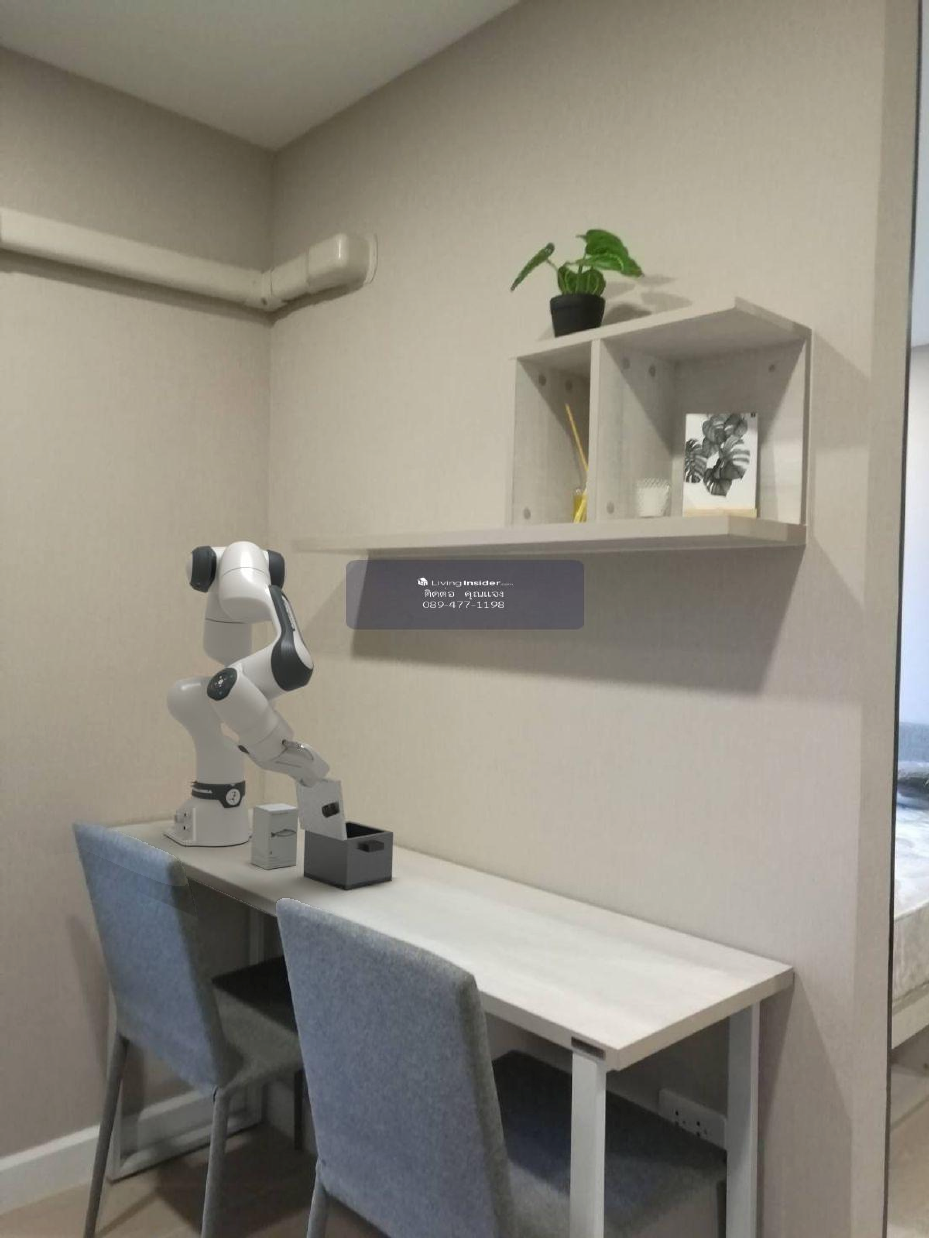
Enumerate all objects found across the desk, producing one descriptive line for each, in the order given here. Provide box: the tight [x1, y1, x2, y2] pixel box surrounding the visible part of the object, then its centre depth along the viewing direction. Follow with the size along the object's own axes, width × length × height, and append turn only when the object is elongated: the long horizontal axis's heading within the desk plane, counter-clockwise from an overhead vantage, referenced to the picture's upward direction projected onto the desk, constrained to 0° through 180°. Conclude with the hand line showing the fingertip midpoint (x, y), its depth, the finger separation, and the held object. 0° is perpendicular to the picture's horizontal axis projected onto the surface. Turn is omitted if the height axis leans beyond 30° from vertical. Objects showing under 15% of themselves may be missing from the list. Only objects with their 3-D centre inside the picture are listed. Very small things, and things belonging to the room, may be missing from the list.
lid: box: [294, 776, 347, 841], centre depth 198 cm, size 14×12×3 cm
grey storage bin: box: [303, 820, 394, 892], centre depth 204 cm, size 18×12×10 cm
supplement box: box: [250, 802, 299, 871], centre depth 214 cm, size 7×7×13 cm
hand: (309, 784), depth 196 cm, fingers closed
